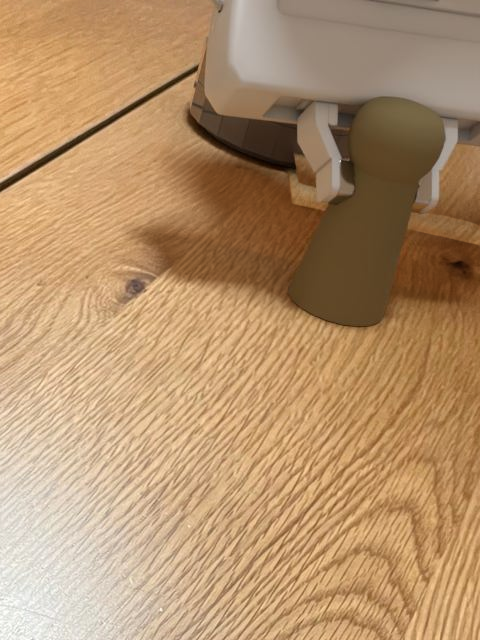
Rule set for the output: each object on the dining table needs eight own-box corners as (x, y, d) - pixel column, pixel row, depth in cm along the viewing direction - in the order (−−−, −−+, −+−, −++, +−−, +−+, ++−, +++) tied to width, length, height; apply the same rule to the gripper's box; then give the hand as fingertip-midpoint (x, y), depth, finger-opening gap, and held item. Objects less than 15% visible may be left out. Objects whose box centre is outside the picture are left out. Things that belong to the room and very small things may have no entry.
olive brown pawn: (377, 336, 75) (458, 135, 67) (279, 305, 75) (348, 102, 67) (389, 298, 79) (466, 105, 71) (296, 269, 79) (362, 74, 71)
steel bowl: (359, 126, 101) (383, 55, 97) (378, 192, 91) (406, 117, 88) (186, 86, 100) (204, 14, 97) (187, 149, 91) (208, 71, 87)
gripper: (233, -117, 65) (235, 160, 66) (569, -59, 71) (566, 197, 72) (184, -42, 72) (187, 211, 73) (497, 7, 77) (495, 242, 78)
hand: (378, 204), depth 72 cm, fingers closed on olive brown pawn, 4 cm apart
